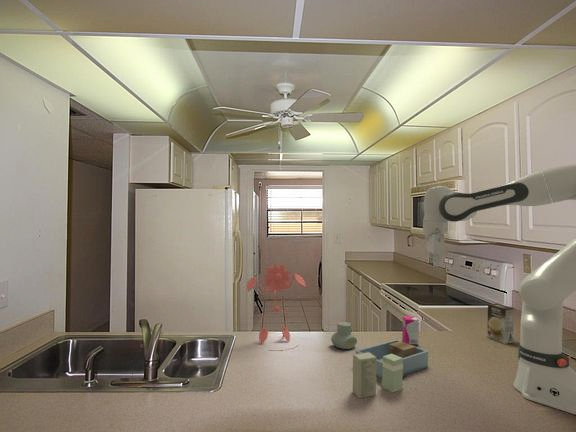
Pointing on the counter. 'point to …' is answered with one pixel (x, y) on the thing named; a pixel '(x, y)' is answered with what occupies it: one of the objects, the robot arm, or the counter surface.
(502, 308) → the coffee box
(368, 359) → the skincare box
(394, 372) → the carton
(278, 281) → the figurine
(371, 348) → the tote
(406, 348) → the walnut block
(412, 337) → the supplement box
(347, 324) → the air freshener
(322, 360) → the counter surface
